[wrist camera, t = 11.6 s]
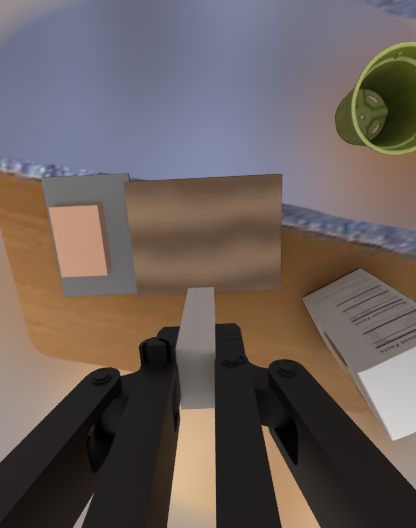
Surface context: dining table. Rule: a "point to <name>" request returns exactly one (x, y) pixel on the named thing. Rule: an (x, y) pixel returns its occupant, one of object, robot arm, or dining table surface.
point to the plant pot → (383, 103)
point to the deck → (206, 233)
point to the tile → (81, 240)
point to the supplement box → (372, 344)
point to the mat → (117, 227)
